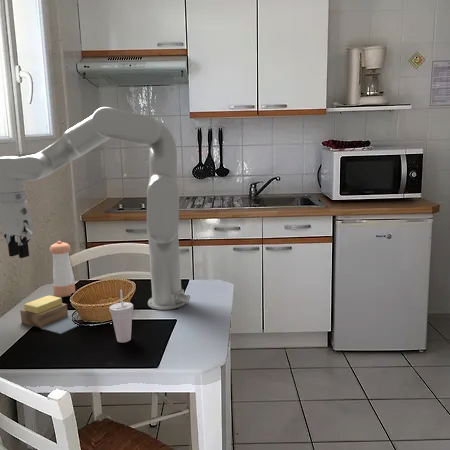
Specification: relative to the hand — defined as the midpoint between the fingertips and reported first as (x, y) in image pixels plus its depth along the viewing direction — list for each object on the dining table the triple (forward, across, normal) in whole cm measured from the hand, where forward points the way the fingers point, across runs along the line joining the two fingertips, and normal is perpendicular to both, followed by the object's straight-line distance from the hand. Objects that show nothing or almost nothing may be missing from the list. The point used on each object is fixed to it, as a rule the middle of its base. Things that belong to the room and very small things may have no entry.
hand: (19, 255), depth 153 cm
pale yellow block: (+15, -9, 0) cm, 18 cm away
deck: (+19, -9, 0) cm, 21 cm away
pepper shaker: (+20, +6, -20) cm, 28 cm away
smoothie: (+20, -42, 0) cm, 46 cm away
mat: (+19, -18, 0) cm, 26 cm away
